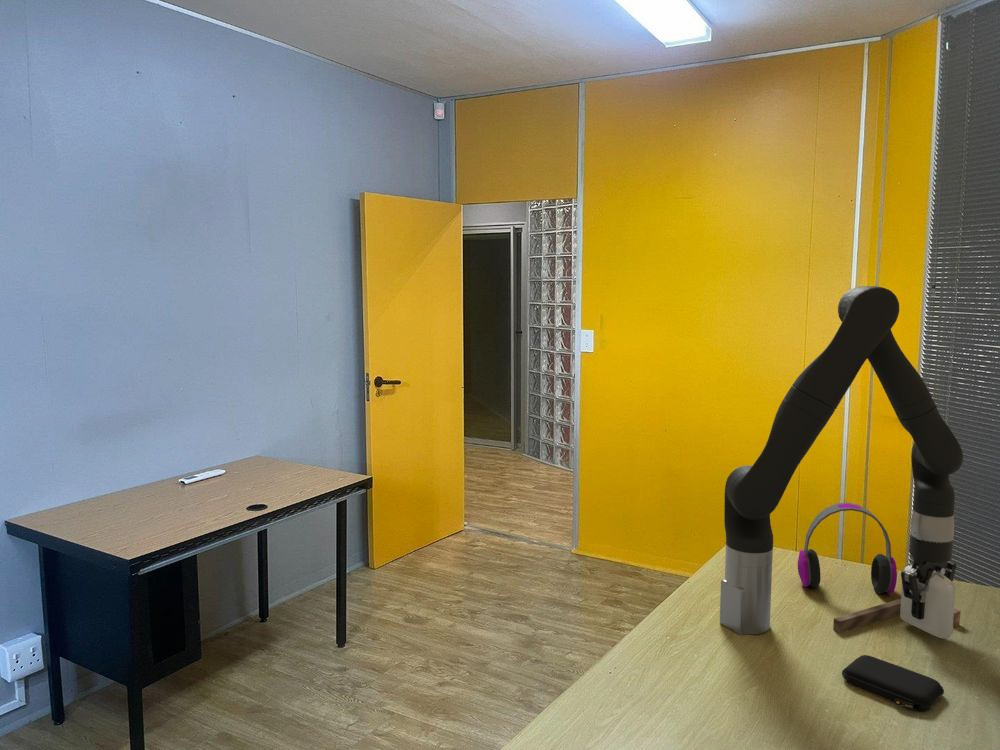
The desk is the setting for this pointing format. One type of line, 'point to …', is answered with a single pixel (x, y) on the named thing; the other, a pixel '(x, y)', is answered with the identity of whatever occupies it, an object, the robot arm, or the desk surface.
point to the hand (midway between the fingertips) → (925, 614)
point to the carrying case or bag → (893, 683)
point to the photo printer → (933, 607)
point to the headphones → (881, 565)
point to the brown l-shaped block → (875, 616)
